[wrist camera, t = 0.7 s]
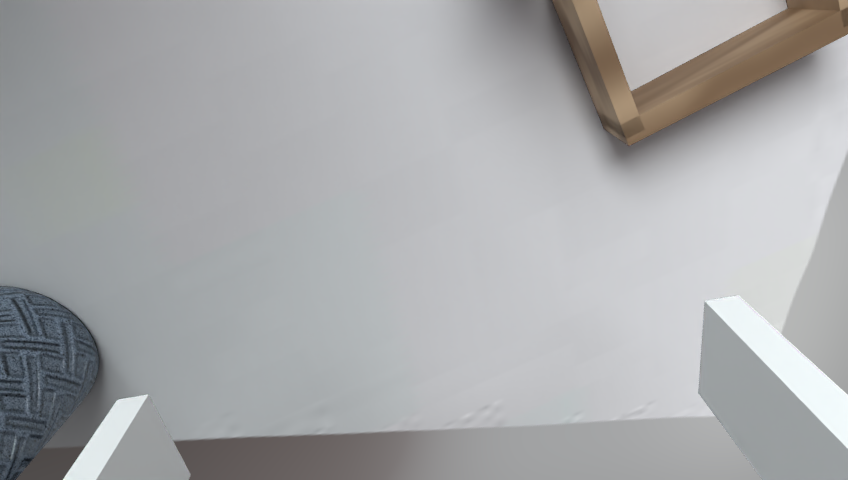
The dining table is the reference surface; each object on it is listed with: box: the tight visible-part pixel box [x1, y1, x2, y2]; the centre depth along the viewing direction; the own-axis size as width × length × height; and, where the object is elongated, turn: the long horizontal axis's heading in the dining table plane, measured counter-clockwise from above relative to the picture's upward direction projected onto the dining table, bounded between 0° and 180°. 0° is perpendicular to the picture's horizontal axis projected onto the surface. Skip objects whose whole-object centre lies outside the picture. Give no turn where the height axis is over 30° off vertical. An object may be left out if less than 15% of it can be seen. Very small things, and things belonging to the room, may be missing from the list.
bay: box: [552, 0, 848, 146], centre depth 32 cm, size 10×14×4 cm
